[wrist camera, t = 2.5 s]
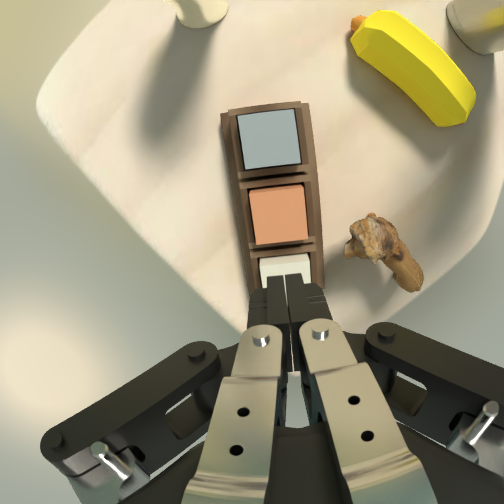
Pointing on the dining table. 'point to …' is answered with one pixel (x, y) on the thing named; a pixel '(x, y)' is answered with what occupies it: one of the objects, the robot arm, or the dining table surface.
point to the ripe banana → (414, 65)
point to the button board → (275, 176)
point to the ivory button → (285, 266)
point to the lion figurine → (384, 250)
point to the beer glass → (199, 11)
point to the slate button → (269, 139)
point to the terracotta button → (279, 213)
